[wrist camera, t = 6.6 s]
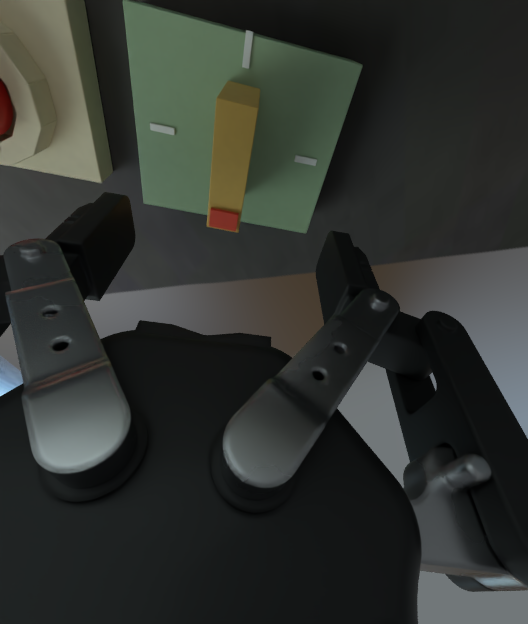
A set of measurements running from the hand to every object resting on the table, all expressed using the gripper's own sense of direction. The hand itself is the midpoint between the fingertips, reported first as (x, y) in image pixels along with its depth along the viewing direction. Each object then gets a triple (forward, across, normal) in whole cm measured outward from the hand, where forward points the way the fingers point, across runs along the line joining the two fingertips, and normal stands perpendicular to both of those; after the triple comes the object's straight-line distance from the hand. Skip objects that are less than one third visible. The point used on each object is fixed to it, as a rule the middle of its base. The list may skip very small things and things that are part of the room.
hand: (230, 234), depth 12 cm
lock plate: (+12, +1, -1) cm, 12 cm away
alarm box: (+12, +15, -1) cm, 19 cm away
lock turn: (+9, +1, -1) cm, 9 cm away
